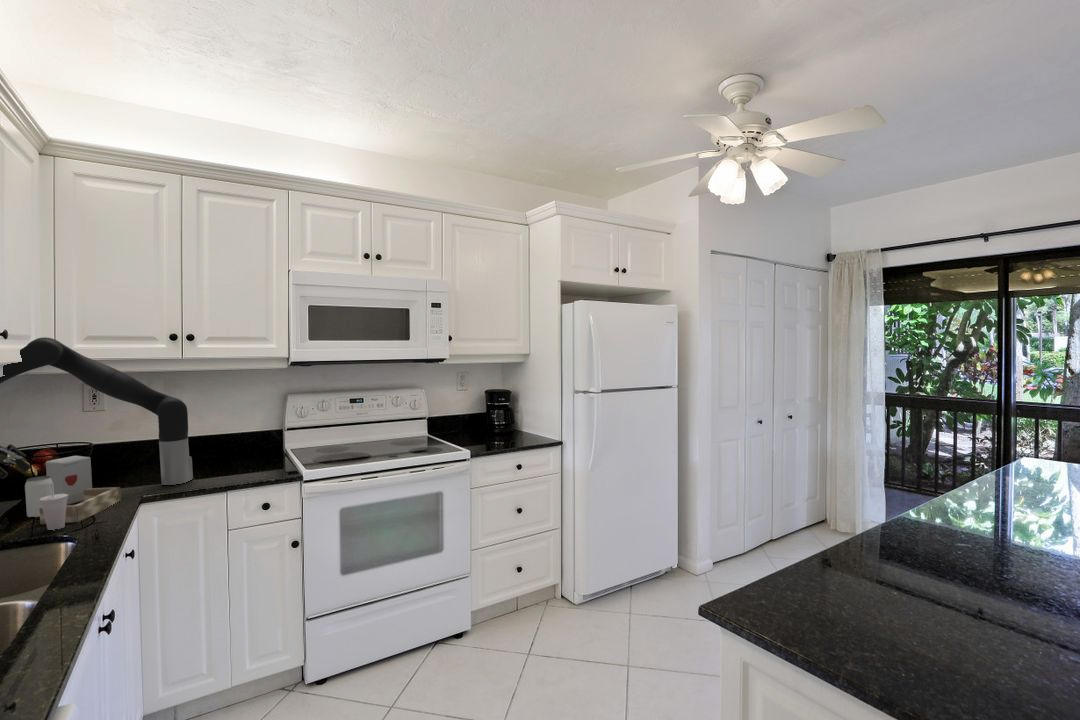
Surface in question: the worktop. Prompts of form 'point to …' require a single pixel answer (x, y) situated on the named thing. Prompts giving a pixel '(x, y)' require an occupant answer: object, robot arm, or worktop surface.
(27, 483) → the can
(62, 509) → the smoothie
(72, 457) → the supplement box
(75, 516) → the crate
